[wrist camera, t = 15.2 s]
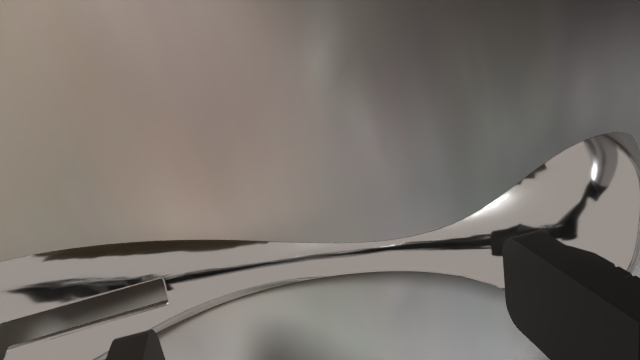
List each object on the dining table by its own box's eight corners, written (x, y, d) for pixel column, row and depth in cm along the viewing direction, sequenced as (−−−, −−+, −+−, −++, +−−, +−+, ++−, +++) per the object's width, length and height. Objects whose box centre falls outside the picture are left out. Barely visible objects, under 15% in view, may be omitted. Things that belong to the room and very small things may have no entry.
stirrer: (-156, 558, 9) (-280, 341, 8) (-63, 420, 12) (-139, 251, 11) (708, 296, 13) (729, 123, 12) (603, 245, 16) (609, 106, 15)
